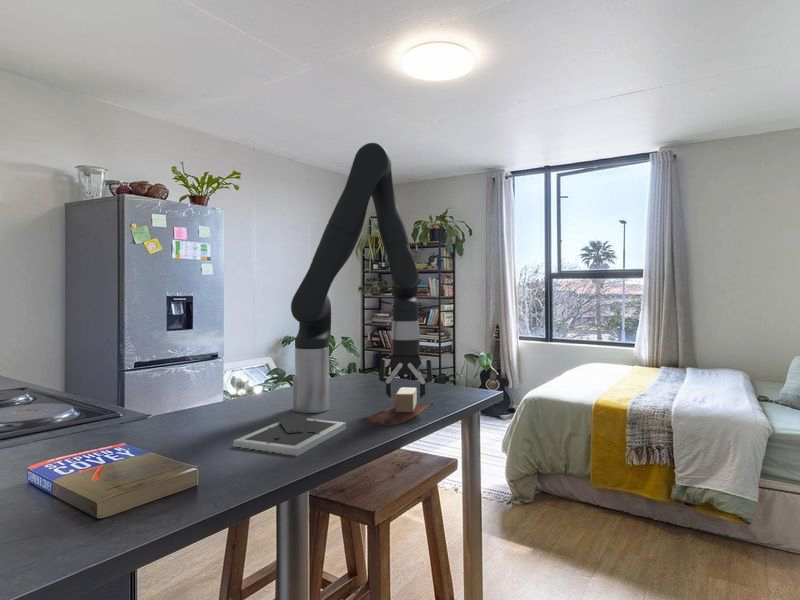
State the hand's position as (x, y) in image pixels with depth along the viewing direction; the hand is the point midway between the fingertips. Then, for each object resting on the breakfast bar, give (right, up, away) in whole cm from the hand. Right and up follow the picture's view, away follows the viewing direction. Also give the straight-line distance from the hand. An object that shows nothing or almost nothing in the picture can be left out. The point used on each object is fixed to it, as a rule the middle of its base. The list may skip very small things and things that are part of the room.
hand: (405, 397), depth 132 cm
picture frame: (-26, -5, -23) cm, 35 cm away
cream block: (+1, -1, +6) cm, 6 cm away
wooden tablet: (-1, -5, 0) cm, 5 cm away
